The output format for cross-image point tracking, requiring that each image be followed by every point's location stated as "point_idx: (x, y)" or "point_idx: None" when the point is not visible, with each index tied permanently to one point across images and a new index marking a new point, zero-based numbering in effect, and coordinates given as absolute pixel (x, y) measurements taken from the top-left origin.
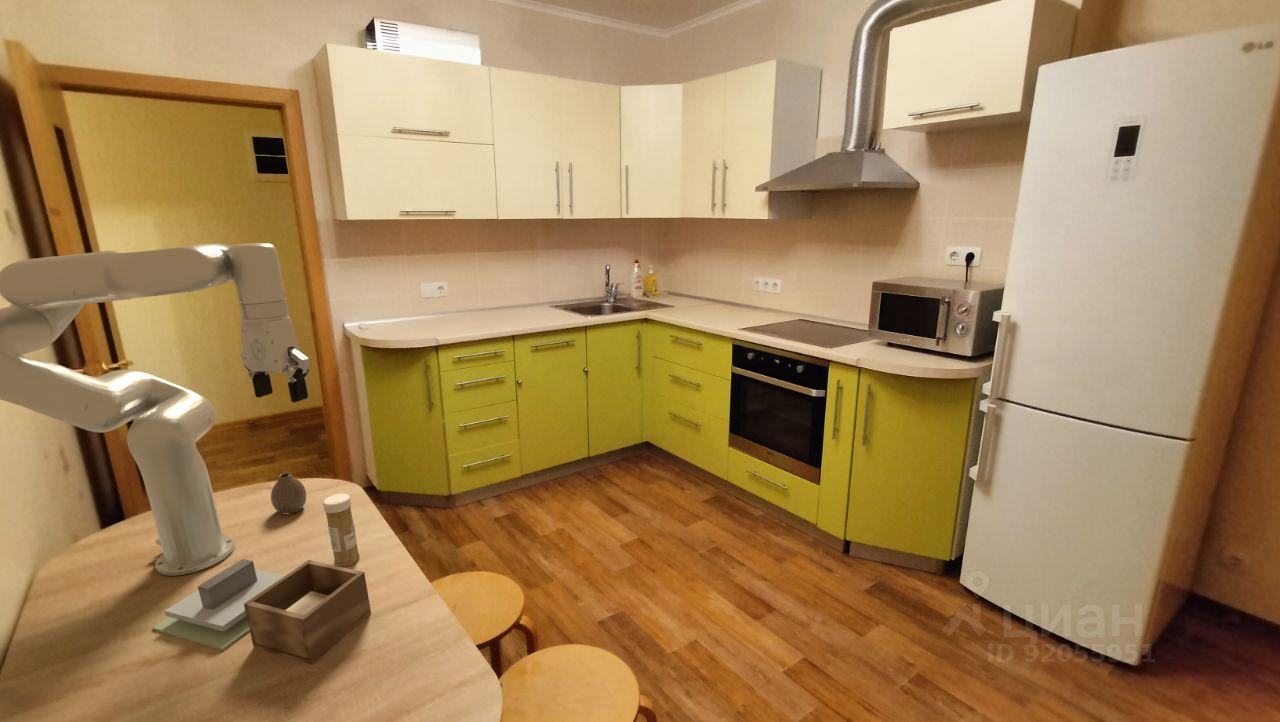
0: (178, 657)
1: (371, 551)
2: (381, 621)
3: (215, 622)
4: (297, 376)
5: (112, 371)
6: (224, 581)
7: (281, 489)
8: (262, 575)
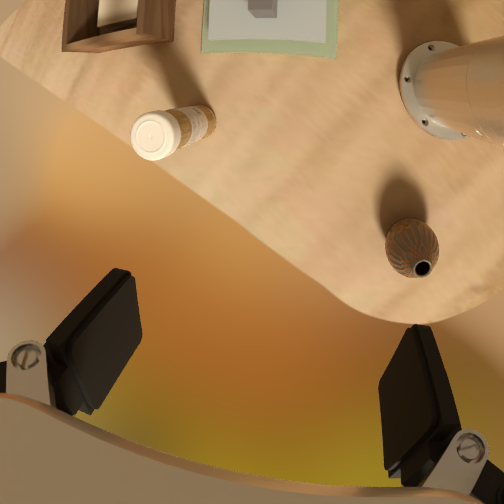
0: None
1: (183, 150)
2: None
3: None
4: (1, 369)
5: None
6: None
7: (414, 240)
8: (259, 29)
